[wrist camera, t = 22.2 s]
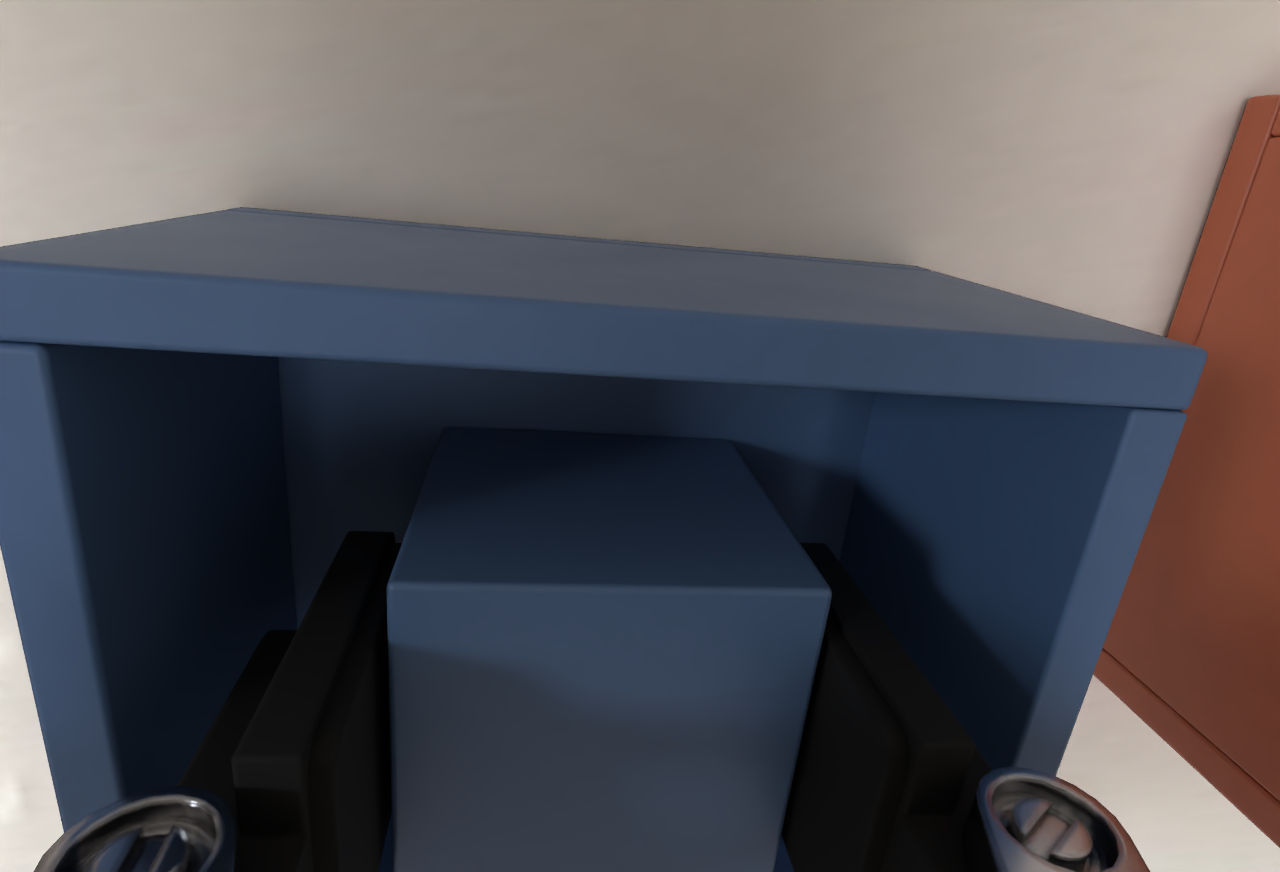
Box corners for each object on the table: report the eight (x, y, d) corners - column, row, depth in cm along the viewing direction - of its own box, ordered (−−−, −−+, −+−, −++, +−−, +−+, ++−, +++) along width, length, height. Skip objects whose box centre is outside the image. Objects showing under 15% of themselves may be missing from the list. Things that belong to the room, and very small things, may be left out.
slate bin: (237, 207, 10) (-70, 256, 5) (918, 265, 12) (1216, 350, 7) (285, 778, 14) (131, 1154, 9) (808, 765, 15) (946, 1077, 10)
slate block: (443, 424, 11) (384, 584, 7) (731, 438, 12) (836, 591, 8) (441, 671, 13) (392, 924, 8) (697, 671, 13) (768, 904, 9)
